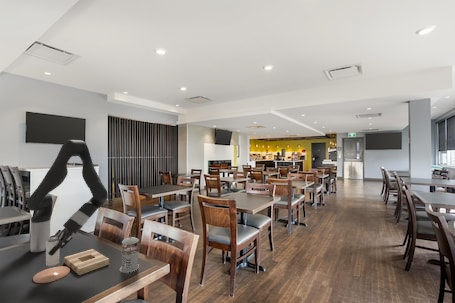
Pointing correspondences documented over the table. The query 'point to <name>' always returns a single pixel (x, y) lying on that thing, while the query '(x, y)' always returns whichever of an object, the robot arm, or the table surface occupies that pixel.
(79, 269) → the mill caddy
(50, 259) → the pepper mill
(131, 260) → the french press
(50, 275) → the terracotta plate
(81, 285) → the table surface
